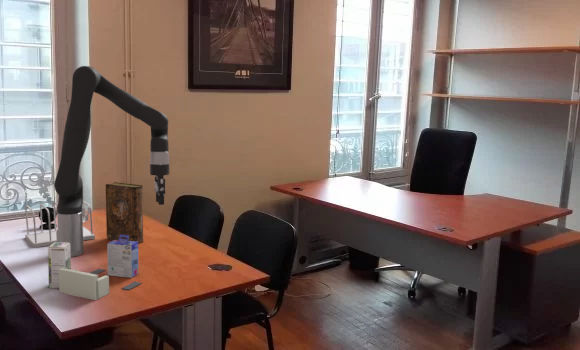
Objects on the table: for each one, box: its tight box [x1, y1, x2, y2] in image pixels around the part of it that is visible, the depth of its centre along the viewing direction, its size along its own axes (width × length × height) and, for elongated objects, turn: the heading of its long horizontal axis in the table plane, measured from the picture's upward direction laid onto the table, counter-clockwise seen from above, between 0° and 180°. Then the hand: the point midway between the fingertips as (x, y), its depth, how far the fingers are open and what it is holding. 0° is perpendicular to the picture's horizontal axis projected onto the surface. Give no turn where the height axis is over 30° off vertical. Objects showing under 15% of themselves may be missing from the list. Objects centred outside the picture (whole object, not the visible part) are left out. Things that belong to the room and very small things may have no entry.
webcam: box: [38, 206, 58, 231], centre depth 259 cm, size 8×8×10 cm
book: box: [105, 181, 144, 245], centre depth 241 cm, size 16×6×25 cm, turn 68°
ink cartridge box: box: [106, 235, 140, 279], centre depth 200 cm, size 10×6×14 cm, turn 78°
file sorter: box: [24, 200, 96, 248], centre depth 242 cm, size 25×17×16 cm
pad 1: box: [89, 268, 107, 275], centre depth 202 cm, size 3×7×1 cm, turn 157°
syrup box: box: [47, 242, 72, 289], centre depth 188 cm, size 6×6×14 cm
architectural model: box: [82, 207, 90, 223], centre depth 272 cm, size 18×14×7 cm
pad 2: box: [121, 281, 143, 291], centre depth 190 cm, size 3×7×1 cm, turn 157°
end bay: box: [58, 268, 110, 301], centre depth 183 cm, size 15×6×8 cm, turn 67°
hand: (160, 203), depth 222 cm, fingers open, 8 cm apart
